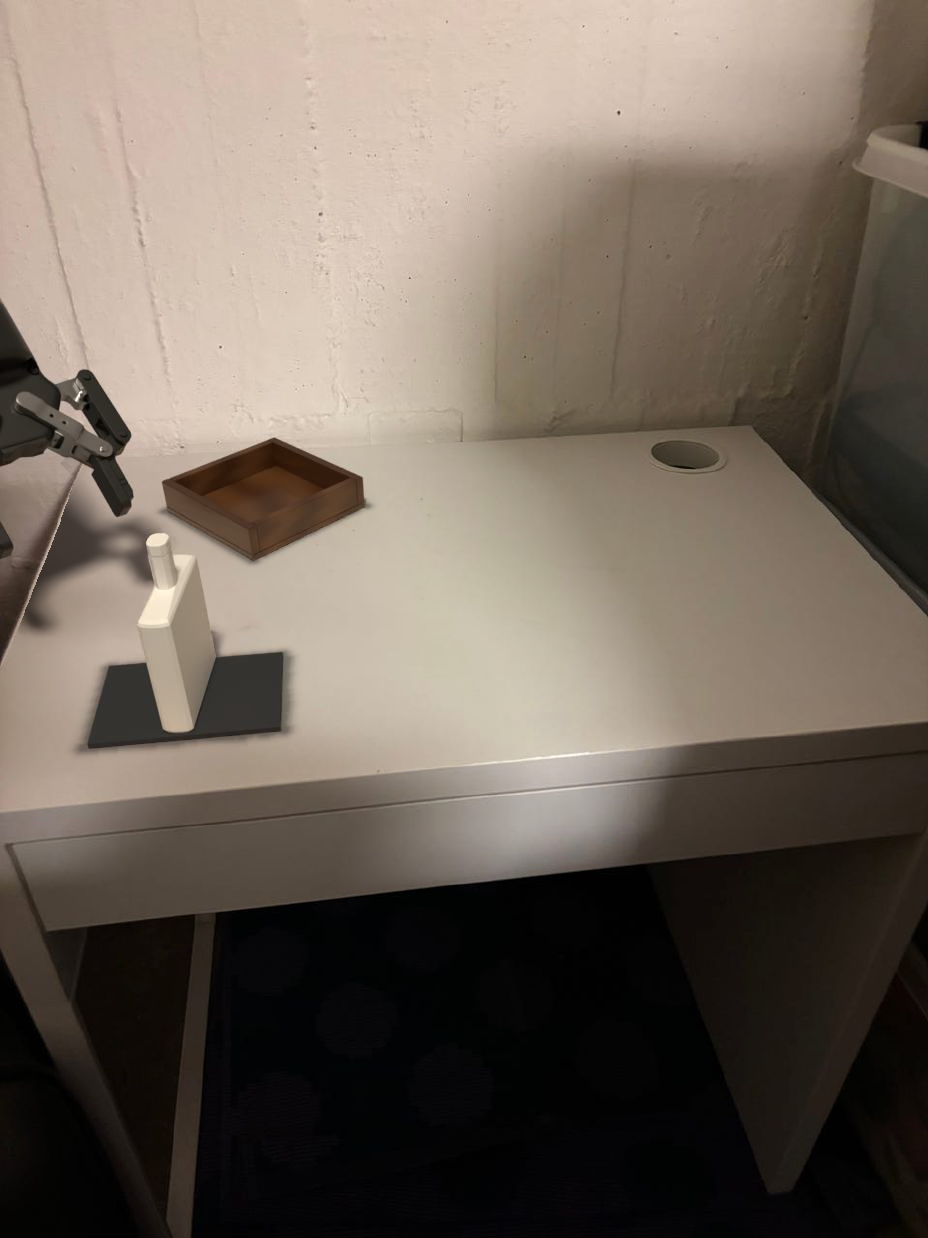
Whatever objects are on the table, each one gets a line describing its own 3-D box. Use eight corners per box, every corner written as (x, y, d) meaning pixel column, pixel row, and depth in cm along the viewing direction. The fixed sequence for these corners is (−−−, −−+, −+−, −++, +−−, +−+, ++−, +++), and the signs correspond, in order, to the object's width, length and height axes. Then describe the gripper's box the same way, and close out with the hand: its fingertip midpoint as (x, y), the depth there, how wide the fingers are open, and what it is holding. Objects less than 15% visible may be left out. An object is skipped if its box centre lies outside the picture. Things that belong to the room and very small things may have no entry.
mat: (88, 748, 58) (86, 743, 58) (110, 670, 65) (108, 665, 65) (280, 731, 60) (280, 726, 60) (283, 656, 66) (282, 651, 66)
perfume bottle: (189, 657, 65) (156, 506, 58) (217, 656, 66) (188, 506, 59) (161, 734, 59) (121, 575, 52) (193, 733, 59) (157, 575, 52)
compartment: (253, 560, 77) (248, 529, 75) (167, 510, 84) (161, 481, 82) (364, 506, 84) (363, 476, 83) (277, 465, 91) (274, 436, 90)
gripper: (-164, 315, 56) (-30, 550, 56) (60, 274, 65) (175, 478, 65) (-165, 376, 62) (-43, 588, 62) (40, 332, 70) (146, 518, 71)
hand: (68, 532), depth 64 cm, fingers open, 8 cm apart
